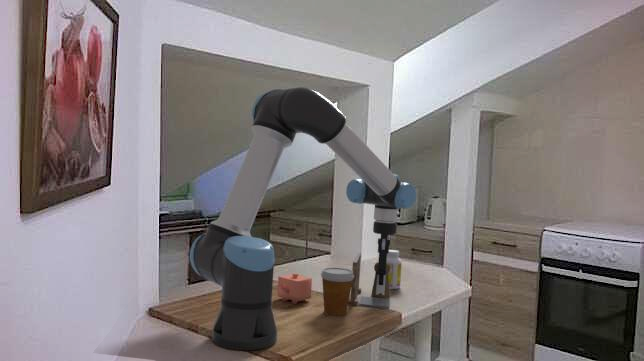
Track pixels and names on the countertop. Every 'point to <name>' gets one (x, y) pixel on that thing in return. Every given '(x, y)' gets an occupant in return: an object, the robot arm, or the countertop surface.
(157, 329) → the countertop surface
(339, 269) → the disposable coffee cup
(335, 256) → the countertop surface
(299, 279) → the pink cube teapot
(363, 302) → the coaster
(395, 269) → the supplement bottle
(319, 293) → the countertop surface
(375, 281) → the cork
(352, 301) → the screen
